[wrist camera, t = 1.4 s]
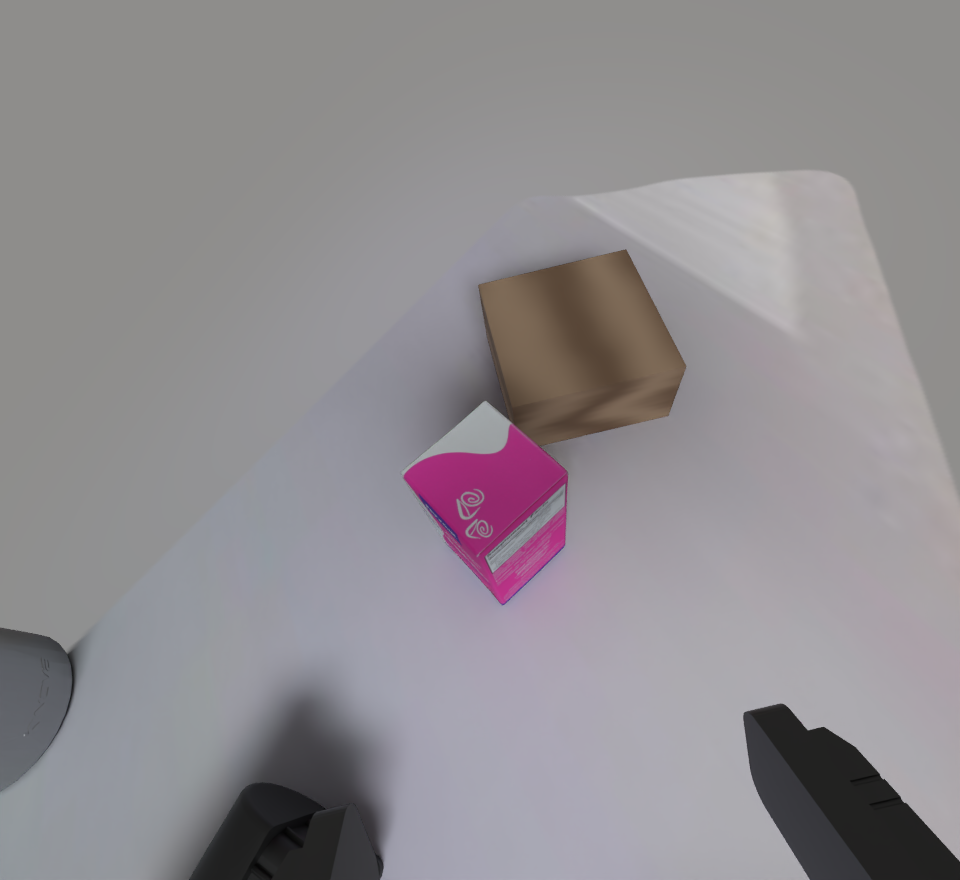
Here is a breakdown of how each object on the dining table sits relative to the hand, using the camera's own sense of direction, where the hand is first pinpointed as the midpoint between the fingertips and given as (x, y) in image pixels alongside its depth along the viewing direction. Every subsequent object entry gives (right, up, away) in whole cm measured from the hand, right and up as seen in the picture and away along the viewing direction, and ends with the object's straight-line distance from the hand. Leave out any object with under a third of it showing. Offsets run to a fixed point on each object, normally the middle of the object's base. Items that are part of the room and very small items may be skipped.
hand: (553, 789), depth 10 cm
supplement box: (0, 0, +23) cm, 23 cm away
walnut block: (+6, +12, +29) cm, 32 cm away
